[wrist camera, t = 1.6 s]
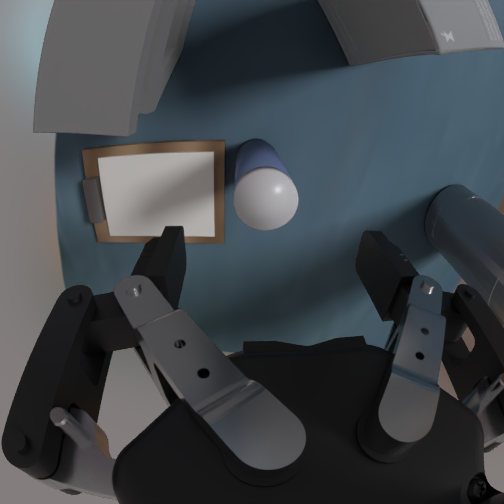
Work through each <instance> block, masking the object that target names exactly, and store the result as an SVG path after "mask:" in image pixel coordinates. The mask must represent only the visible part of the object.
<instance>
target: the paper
mask: <svg viewBox="0 0 504 504" xmlns="http://www.w3.org/2000/svg"><path fill="white" fill-rule="evenodd" d="M98 165H99V173H100V180H101V187H102V194H103V200H104V206H105V211H106V217H107V222H108V227H109V232H110V236H161V235H162V233H163V230H164V228H165V226H183V228H184V236H206V237H215V226H214V152H169V153H149V154H134V155H121V156H110V157H101V158H98Z"/></svg>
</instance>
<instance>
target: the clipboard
mask: <svg viewBox="0 0 504 504" xmlns="http://www.w3.org/2000/svg"><path fill="white" fill-rule="evenodd" d="M169 152H214V226H215V237H206V236H184V238H185V243H224V190H225V140H183V141H160V142H145V143H132V144H121V145H111V146H103V147H94V148H87V149H84V150H82V154H83V162H84V169H85V176H86V178H85V179H83V180H82V182H83V188H84V194H85V200H86V205H87V210H88V215H89V220H90V223H94V225H95V230H96V234H97V239H98V242H142V243H147V242H148V241H150V240H151V239H152V238H153V237H161V236H110V232H109V227H108V222H107V217H106V211H105V206H104V200H103V194H102V187H101V180H100V173H99V165H98V158H101V157H110V156H121V155H134V154H149V153H169Z"/></svg>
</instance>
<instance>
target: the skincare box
mask: <svg viewBox="0 0 504 504" xmlns="http://www.w3.org/2000/svg"><path fill="white" fill-rule="evenodd" d="M318 2H319V4H320V6H321V8H322V9H323V11H324V13H325V15H326V17H327V19H328V21H329V23H330V25H331V27H332V29H333V31H334V33H335V35H336V37H337V39H338V41H339V43H340V45H341V47H342V49H343V52H344V54H345V56H346V58H347V60H348V63H349V65H350V66H355V65H360V64H365V63H371V62H376V61H382V60H388V59H395V58H402V57H409V56H418V55H428V54H434V55H442V54H450V53H458V52H468V51H479V50H491V49H503V48H504V41H503V38H502V35H501V32H500V30H499V27H498V24H497V21H496V19H495V16H494V14H493V11H492V9H491V7H490V4H489V2H488V0H318Z"/></svg>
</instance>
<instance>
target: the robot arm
mask: <svg viewBox="0 0 504 504" xmlns="http://www.w3.org/2000/svg"><path fill="white" fill-rule="evenodd" d="M425 233H426V236H427V238H428V240H429V241H430V243H431V244H432V245H433V246H434V247H435V248H436V249H437V250H438V251H439V252H440V253H441V255H442V256H443V257H444V258H445V259H446V260H447V261H448V263H449V264H450V265H451V266H452V267H453V268H454V269H455V270H456V272H457V273H458V274H459V275H460V276H461V277H462V279H463V280H464V281H465V282H466V283H467V285H465V284H460V285H458V286H457V288H456V290H455V292H454V293H449V292H444V291H442V287H441V286H440V284H439V283H438V282H437V281H435V280H434V279H432V278H430V277H428V276H424V275H419V274H418V272H417V271H416V270H415V268H414V267H413V266H412V264H411V263H410V262H409V261H408V259H407V258H406V257H405V255H403V253H402V252H401V250H400V249H399V248H398V247H397V246H395V245H394V244H392V243H391V242H389V240H388V239H387V238H386V237H385V235H384V234H383V233H382V232H381V231H368V230H366V231H364V233H363V235H362V239H361V243H360V247H359V251H358V254H357V258H356V271H357V273H358V275H359V277H360V279H361V281H362V283H363V284H364V286H365V288H366V290H367V292H368V294H369V296H370V298H371V300H372V302H373V304H374V306H375V308H376V309H377V311H378V313H379V315H380V317H381V319H382V321H391V320H393V321H394V323H393V325H392V327H391V330H390V333H389V336H388V338H387V341H386V344H385V347H384V349H382V348H379V347H376V346H372V345H367V344H366V342H365V339H364V337H363V336H355V337H343V338H335V339H332V340H328V341H325V342H322V343H318V344H315V345H311V346H302V345H296V344H290V343H283V342H277V341H250V342H244V344H243V351H240V352H236V353H233V354H230V355H228V356H225V355H224V354H223V353H222V351H221V350H220V349H219V348H218V347H217V346H216V345H215V344H214V343H213V342H212V341H211V340H210V339H209V337H208V336H207V335H206V334H205V333H204V332H203V331H202V330H201V329H200V328H199V326H198V325H197V324H196V323H195V322H194V321H193V320H192V319H191V317H190V316H189V315H188V314H187V313H186V312H185V311H184V310H183V309H182V308H178V303H179V299H180V294H181V290H182V285H183V281H184V276H185V272H186V249H185V238H184V228H183V226H165V228H164V230H163V233H162V235H161V237H153V238H152V239H151V240H150V241H148V242H147V243H146V244H145V246H144V249H143V252H142V253H141V255H140V258H139V259H138V261H137V263H136V265H135V267H134V269H133V272H132V274H131V276H129V277H126V278H124V279H122V280H120V281H119V282H118V283H117V284H116V286H115V288H114V292H110V293H106V294H100V295H95V296H93V293H92V291H91V289H90V288H89V287H87V286H84V285H76V286H72V287H70V288H68V289H66V290H65V291H64V292H62V293H61V295H60V296H59V298H58V299H57V301H56V303H55V305H54V307H53V309H52V311H51V313H50V315H49V317H48V319H47V321H46V323H45V325H44V327H43V329H42V331H41V333H40V335H39V337H38V339H37V342H36V344H35V346H34V348H33V351H32V353H31V355H30V357H29V360H28V362H27V365H26V367H25V370H24V372H23V375H22V377H21V380H20V382H19V385H18V388H17V391H16V393H15V396H14V400H13V402H12V406H11V408H10V411H9V415H8V418H7V422H6V425H5V429H4V432H3V436H2V449H3V453H4V455H5V457H6V458H7V460H8V461H9V462H10V463H11V464H12V465H14V466H15V467H17V468H19V469H20V470H22V471H24V472H25V473H27V474H28V475H29V476H31V477H32V478H34V479H36V480H38V481H40V482H42V483H44V484H46V485H48V486H50V487H52V488H54V489H58V490H60V491H63V492H65V493H67V494H71V495H77V494H80V493H82V492H83V493H87V494H91V495H95V496H99V497H103V498H108V499H113V500H118V502H119V504H504V493H502V492H500V491H497V490H496V489H494V488H493V487H491V486H490V484H489V483H488V481H487V479H486V476H485V470H484V453H486V452H490V451H491V450H492V449H494V448H495V447H497V446H498V445H500V444H501V443H502V442H504V214H503V213H501V212H500V211H499V210H497V209H496V208H495V207H493V206H492V205H491V204H489V203H488V202H486V201H485V200H484V199H482V198H481V197H479V196H478V195H476V194H475V193H473V192H472V191H470V190H469V189H467V188H466V187H464V186H461V185H452V186H449V187H447V188H445V189H444V190H442V191H441V192H440V193H439V194H438V195H437V196H436V197H435V199H434V200H433V201H432V203H431V205H430V207H429V209H428V212H427V215H426V219H425ZM177 308H178V309H177ZM467 327H469V329H470V331H471V332H472V334H473V336H474V338H475V345H474V348H473V350H472V351H471V352H469V350H468V348H467V346H466V344H465V342H464V341H463V339H462V337H461V336H462V334H463V333H464V331H465V330H466V328H467ZM132 347H133V348H134V350H135V352H136V354H137V355H138V357H139V359H140V360H141V362H142V364H143V365H144V367H145V369H146V370H147V372H148V373H149V375H150V376H151V378H152V380H153V381H154V383H155V385H156V386H157V388H158V390H159V392H160V394H161V396H162V397H163V399H164V400H165V402H166V404H167V405H168V406H169V407H168V408H167V409H166V410H165V411H164V412H163V413H162V414H161V415H160V416H159V417H158V418H156V419H155V420H154V421H153V422H152V423H151V424H150V425H149V426H148V427H147V428H146V429H145V430H143V431H142V432H141V433H140V434H139V435H138V436H137V437H136V438H135V439H133V440H132V441H131V442H130V443H129V444H128V445H127V446H126V447H125V448H124V449H123V450H122V451H121V452H120V454H119V455H118V457H117V459H113V458H112V457H111V455H110V453H109V443H108V438H107V436H106V434H105V432H104V431H103V430H102V429H101V428H100V427H99V426H98V425H97V420H98V415H99V410H100V405H101V400H102V395H103V391H104V386H105V382H106V377H107V373H108V369H109V365H110V360H111V357H112V353H113V351H116V350H121V349H127V348H132ZM441 360H442V362H443V364H444V366H445V369H446V371H447V373H448V375H449V378H450V380H451V382H452V385H453V387H454V389H455V392H456V394H457V397H458V399H459V400H457V399H456V398H454V397H453V396H451V395H450V394H449V393H447V392H446V391H444V390H443V389H442V388H440V387H439V385H438V377H439V371H440V365H441Z"/></svg>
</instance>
